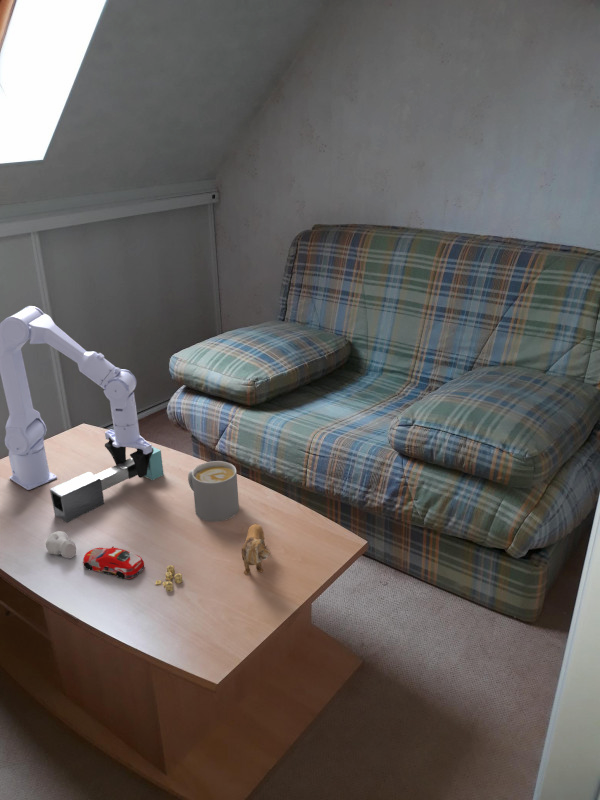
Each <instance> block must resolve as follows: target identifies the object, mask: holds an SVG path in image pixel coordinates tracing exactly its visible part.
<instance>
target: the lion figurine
mask: <svg viewBox="0 0 600 800" xmlns="http://www.w3.org/2000/svg"><path fill="white" fill-rule="evenodd" d="M245 539H246V540H245V542H244V544H243V545H242V548H241V559H242V562H243V566H244V570H243V574H244V575H247V576H248V575H250V573H251V568H250V566H255V569H256V571H257V573H260V574H261V573H262V572H263V571H264V568H262V560H264V561H265V560H267V558H268V556H269V554H270V553H271V552H270V550H267V549H266V543H265V533H264V530H263V526H262V525H260V524H258V523H254V524H251V526H249V528H248V530H247V536H246V538H245Z"/></svg>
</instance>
